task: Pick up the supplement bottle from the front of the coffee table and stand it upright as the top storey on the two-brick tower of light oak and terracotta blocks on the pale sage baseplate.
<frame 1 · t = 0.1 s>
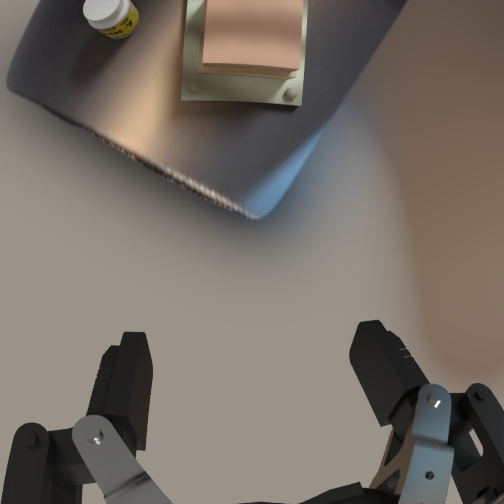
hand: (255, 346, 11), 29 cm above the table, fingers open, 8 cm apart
brick tower: (245, 39, 29), on the table
supplement bottle: (122, 23, 26), on the table
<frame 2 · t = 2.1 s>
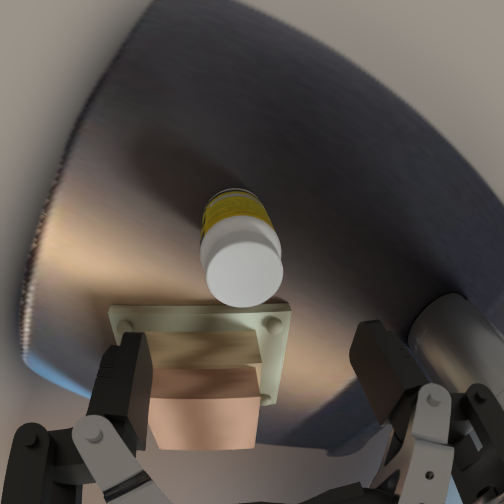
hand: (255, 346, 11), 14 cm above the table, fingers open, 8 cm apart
brick tower: (202, 360, 29), on the table
supplement bottle: (234, 216, 23), on the table
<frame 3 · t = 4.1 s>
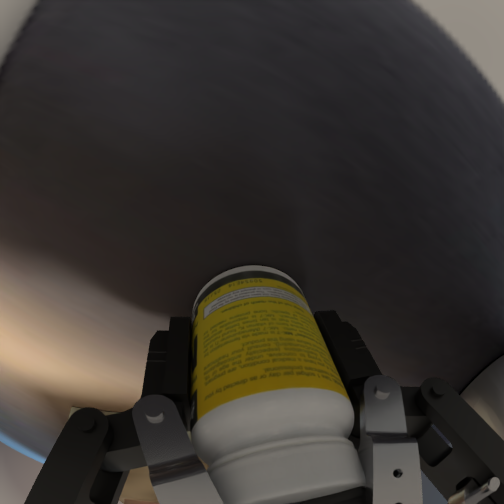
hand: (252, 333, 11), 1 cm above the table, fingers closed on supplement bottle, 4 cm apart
brick tower: (202, 459, 19), on the table
supplement bottle: (248, 308, 13), on the table, touching gripper
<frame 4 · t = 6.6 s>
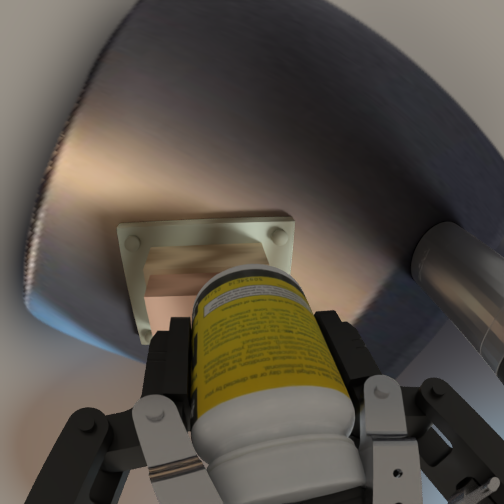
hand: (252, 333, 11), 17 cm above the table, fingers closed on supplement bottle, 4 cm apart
brick tower: (208, 284, 30), on the table
supplement bottle: (248, 307, 13), point 16 cm above the table, touching gripper
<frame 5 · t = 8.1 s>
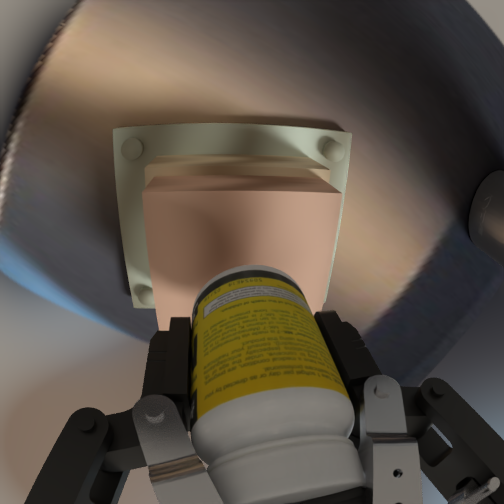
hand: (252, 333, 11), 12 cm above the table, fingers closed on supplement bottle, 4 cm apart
brick tower: (231, 219, 22), on the table
supplement bottle: (248, 308, 13), point 11 cm above the table, touching gripper
when the fingers open (11 cm above the table, at t = 9.2 s): supplement bottle drops 1 cm, resting on brick tower.
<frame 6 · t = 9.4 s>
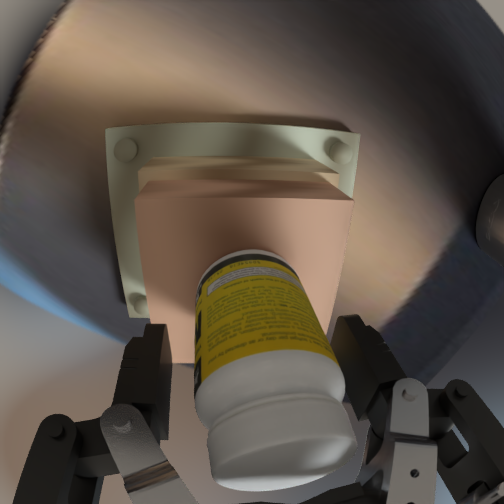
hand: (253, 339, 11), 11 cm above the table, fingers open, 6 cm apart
brick tower: (231, 225, 21), on the table
supplement bottle: (247, 291, 14), point 8 cm above the table, touching brick tower
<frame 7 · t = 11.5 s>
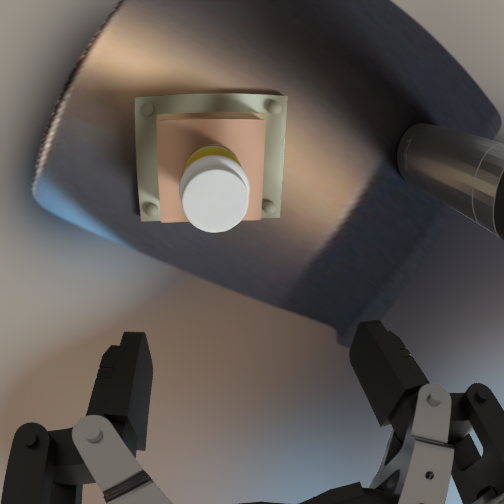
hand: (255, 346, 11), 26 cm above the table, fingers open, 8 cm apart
brick tower: (209, 156, 32), on the table
supplement bottle: (212, 170, 25), point 8 cm above the table, touching brick tower
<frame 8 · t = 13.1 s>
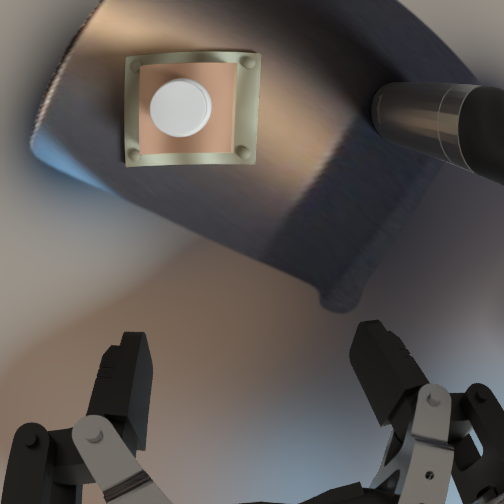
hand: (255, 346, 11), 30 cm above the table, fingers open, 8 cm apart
brick tower: (190, 107, 33), on the table
supplement bottle: (186, 107, 26), point 8 cm above the table, touching brick tower
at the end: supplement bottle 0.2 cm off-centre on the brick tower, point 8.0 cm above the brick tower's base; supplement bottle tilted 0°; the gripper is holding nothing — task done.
